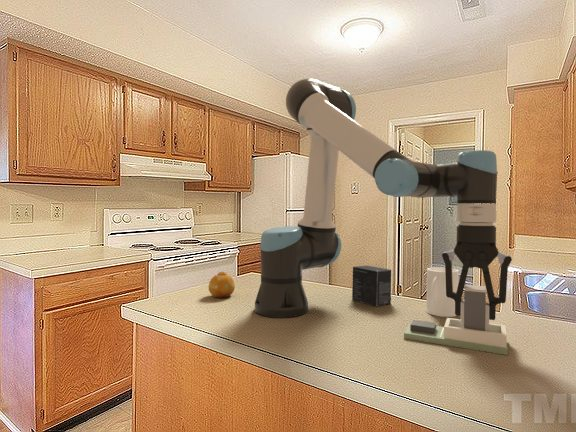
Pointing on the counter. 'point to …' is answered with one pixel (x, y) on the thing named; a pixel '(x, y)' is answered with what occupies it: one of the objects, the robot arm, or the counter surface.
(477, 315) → the plug
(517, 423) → the counter surface
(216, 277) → the fruit
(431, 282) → the white upright cylinder
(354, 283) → the box
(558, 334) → the counter surface
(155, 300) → the counter surface
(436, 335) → the board
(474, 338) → the tray
